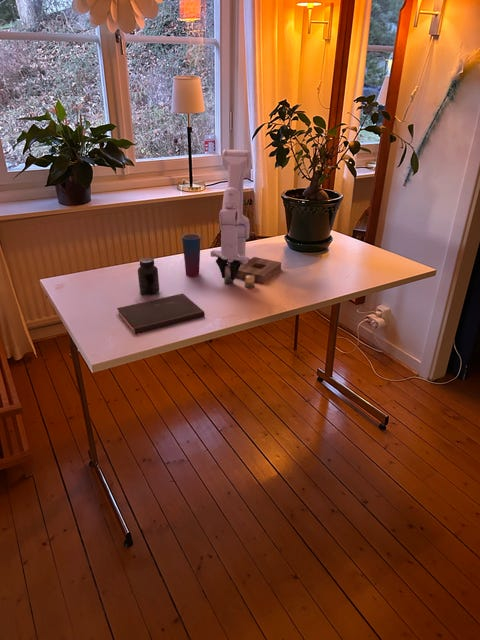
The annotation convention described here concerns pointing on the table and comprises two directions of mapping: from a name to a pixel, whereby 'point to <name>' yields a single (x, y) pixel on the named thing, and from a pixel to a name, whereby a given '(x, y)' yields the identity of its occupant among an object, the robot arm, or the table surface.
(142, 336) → the table surface
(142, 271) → the supplement bottle
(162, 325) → the hardcover book
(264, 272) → the walnut board
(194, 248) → the cup
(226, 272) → the long steel peg
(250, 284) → the short brass peg
